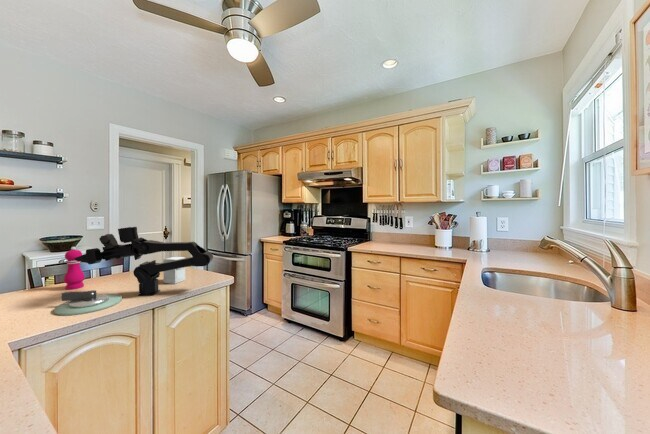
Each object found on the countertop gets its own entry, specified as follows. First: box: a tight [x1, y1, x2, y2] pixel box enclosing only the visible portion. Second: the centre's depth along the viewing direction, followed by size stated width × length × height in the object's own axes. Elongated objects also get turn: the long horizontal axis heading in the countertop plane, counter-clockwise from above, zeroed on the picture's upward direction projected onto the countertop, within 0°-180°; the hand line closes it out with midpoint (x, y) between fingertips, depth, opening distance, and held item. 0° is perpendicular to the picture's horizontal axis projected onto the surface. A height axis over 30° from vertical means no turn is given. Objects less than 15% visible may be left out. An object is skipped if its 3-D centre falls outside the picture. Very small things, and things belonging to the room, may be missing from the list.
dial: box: [61, 289, 109, 308], centre depth 103 cm, size 16×12×4 cm
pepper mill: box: [63, 246, 86, 291], centre depth 124 cm, size 7×7×20 cm
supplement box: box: [162, 256, 186, 285], centre depth 135 cm, size 7×7×13 cm
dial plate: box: [53, 293, 123, 317], centre depth 103 cm, size 20×20×1 cm
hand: (83, 257), depth 112 cm, fingers open, 9 cm apart
